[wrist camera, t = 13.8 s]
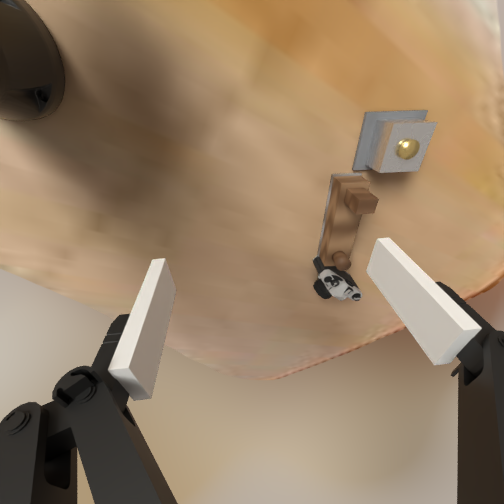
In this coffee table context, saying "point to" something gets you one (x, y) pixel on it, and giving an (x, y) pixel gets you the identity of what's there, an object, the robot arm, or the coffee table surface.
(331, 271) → the camera
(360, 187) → the plane body
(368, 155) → the grey gold knob block
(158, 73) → the coffee table surface
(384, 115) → the felt mat
